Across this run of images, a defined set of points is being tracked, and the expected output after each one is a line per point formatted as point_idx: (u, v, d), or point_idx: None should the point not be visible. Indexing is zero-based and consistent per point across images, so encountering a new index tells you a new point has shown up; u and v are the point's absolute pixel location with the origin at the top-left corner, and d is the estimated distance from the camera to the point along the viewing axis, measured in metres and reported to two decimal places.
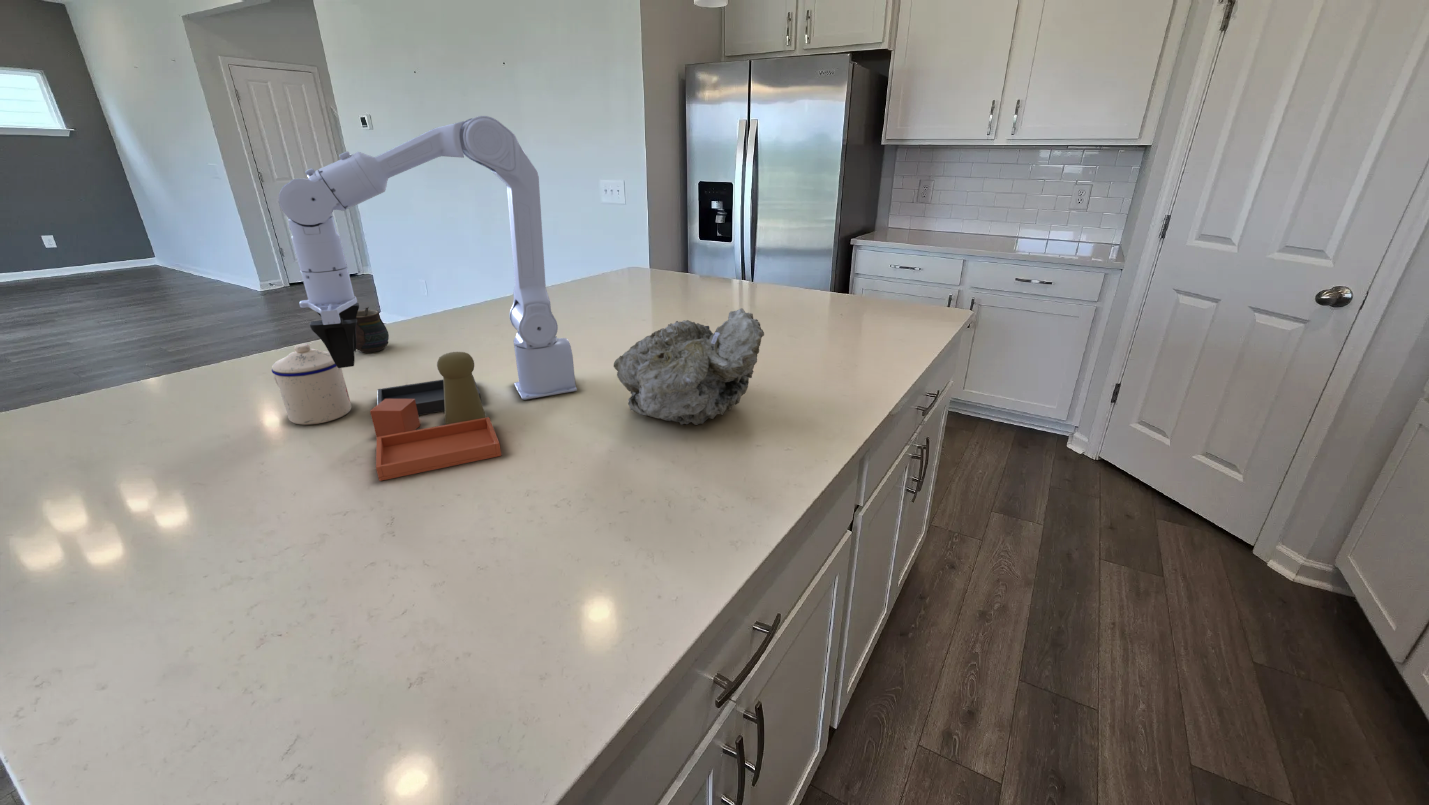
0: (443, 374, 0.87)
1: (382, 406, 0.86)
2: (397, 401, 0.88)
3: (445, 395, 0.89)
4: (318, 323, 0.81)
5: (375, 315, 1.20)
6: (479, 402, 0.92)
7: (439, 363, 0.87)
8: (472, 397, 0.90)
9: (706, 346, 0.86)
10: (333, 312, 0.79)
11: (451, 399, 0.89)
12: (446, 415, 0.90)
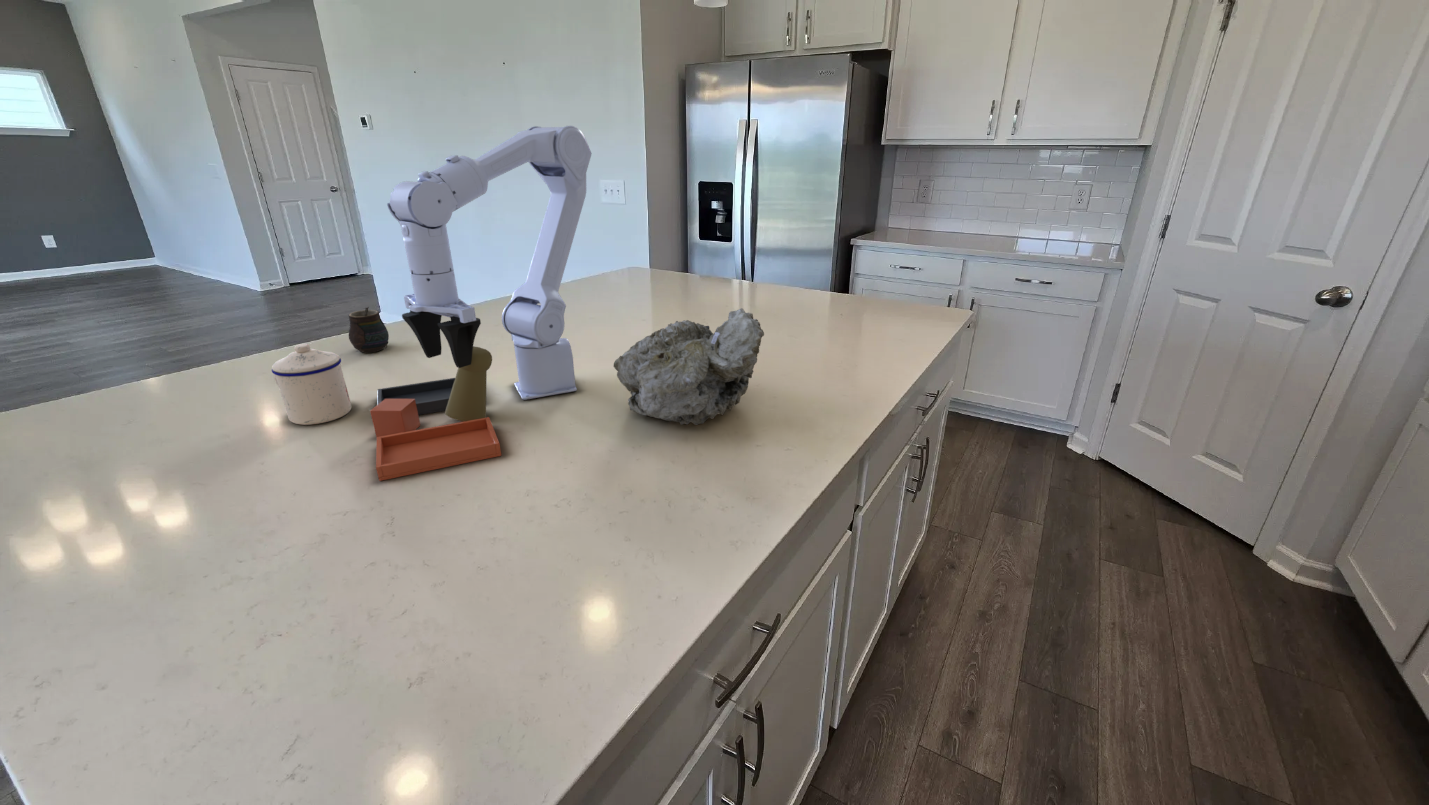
0: None
1: (382, 406, 0.86)
2: (397, 401, 0.88)
3: (455, 385, 0.90)
4: (450, 323, 0.82)
5: (375, 315, 1.20)
6: (485, 400, 0.92)
7: None
8: (480, 393, 0.91)
9: (706, 346, 0.86)
10: (472, 310, 0.82)
11: (460, 390, 0.89)
12: (449, 405, 0.90)
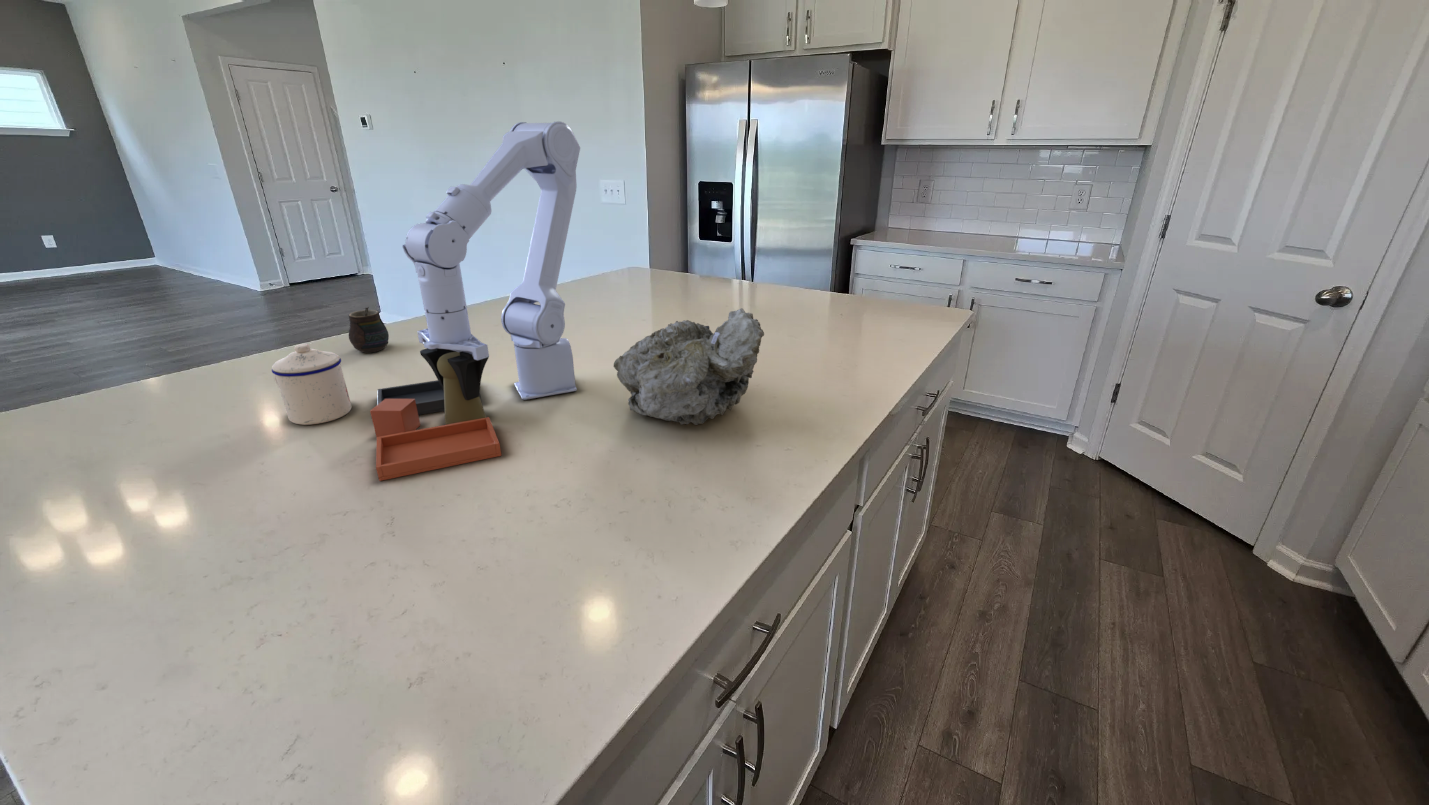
0: (443, 374, 0.87)
1: (382, 406, 0.86)
2: (397, 401, 0.88)
3: (445, 395, 0.89)
4: (459, 359, 0.85)
5: (375, 315, 1.20)
6: (479, 402, 0.92)
7: (439, 363, 0.87)
8: None
9: (706, 346, 0.86)
10: (485, 347, 0.84)
11: (451, 399, 0.89)
12: (446, 415, 0.90)
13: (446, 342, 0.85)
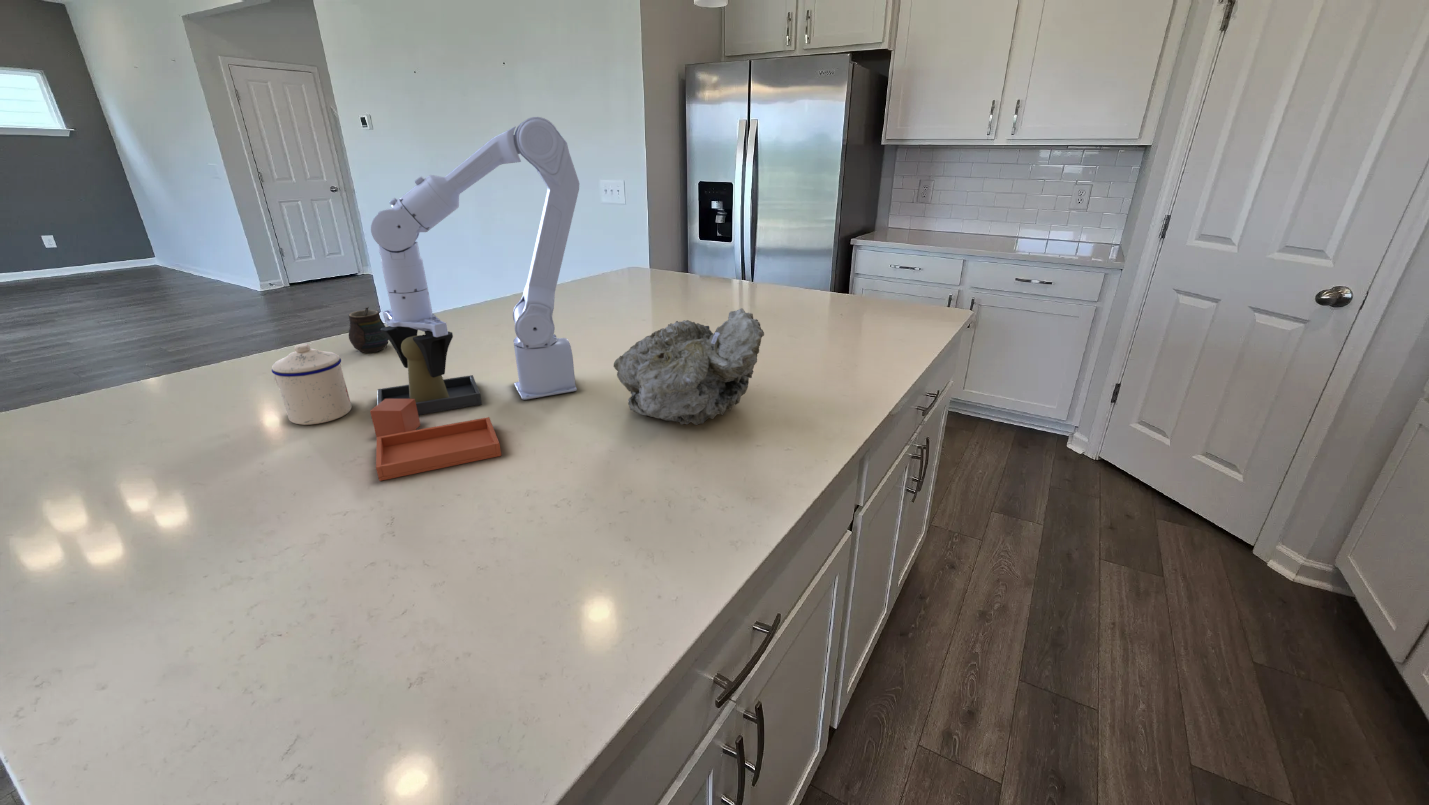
0: (406, 356, 0.93)
1: (382, 406, 0.86)
2: (397, 401, 0.88)
3: (409, 376, 0.95)
4: (424, 337, 0.90)
5: (375, 315, 1.20)
6: (442, 383, 0.98)
7: (403, 345, 0.93)
8: (435, 377, 0.96)
9: (706, 346, 0.86)
10: (444, 325, 0.90)
11: (415, 380, 0.95)
12: (410, 395, 0.96)
13: (407, 320, 0.90)
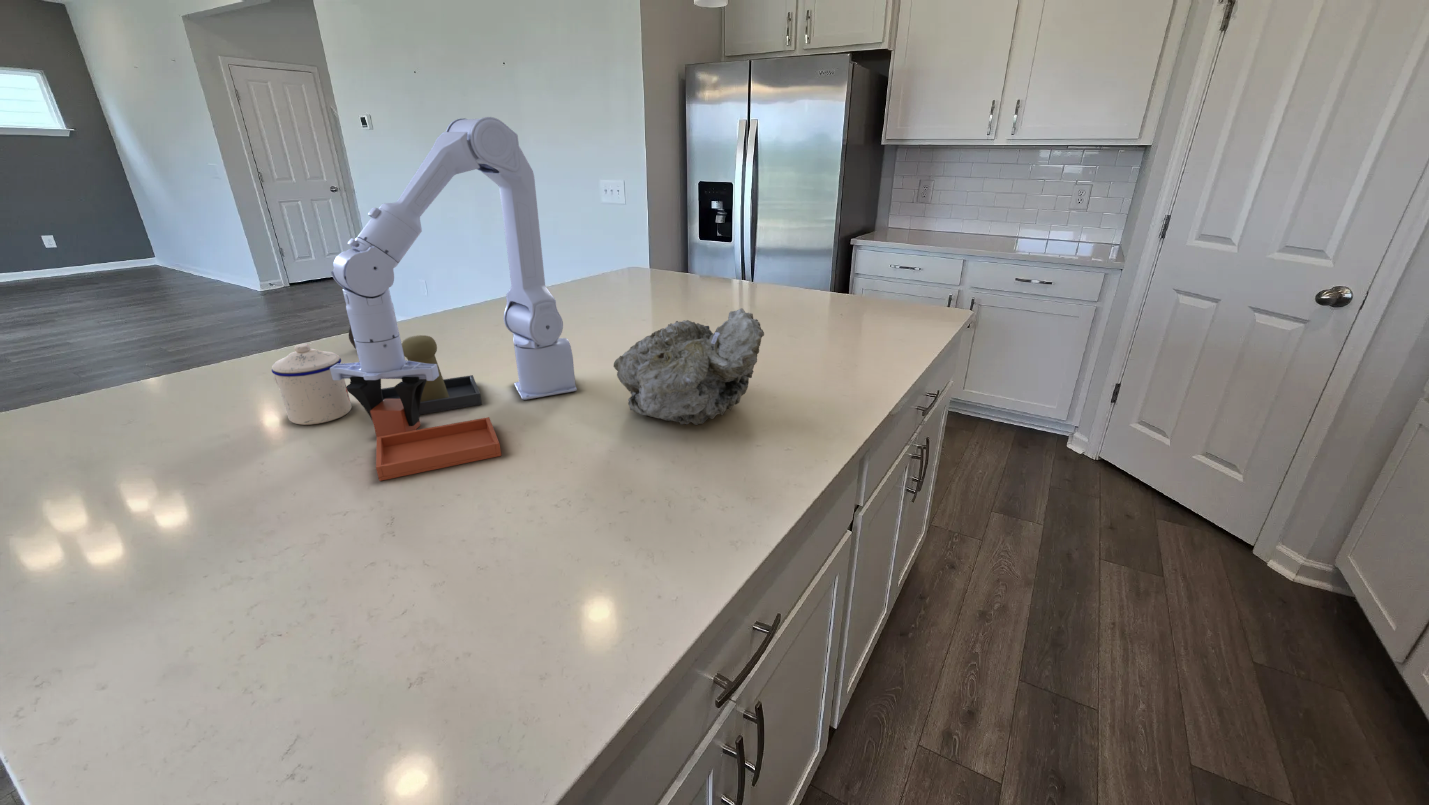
0: (406, 356, 0.93)
1: (383, 406, 0.86)
2: (397, 401, 0.88)
3: None
4: (408, 384, 0.84)
5: None
6: (442, 383, 0.98)
7: (403, 345, 0.93)
8: None
9: (706, 346, 0.86)
10: (436, 367, 0.85)
11: None
12: None
13: (390, 370, 0.83)
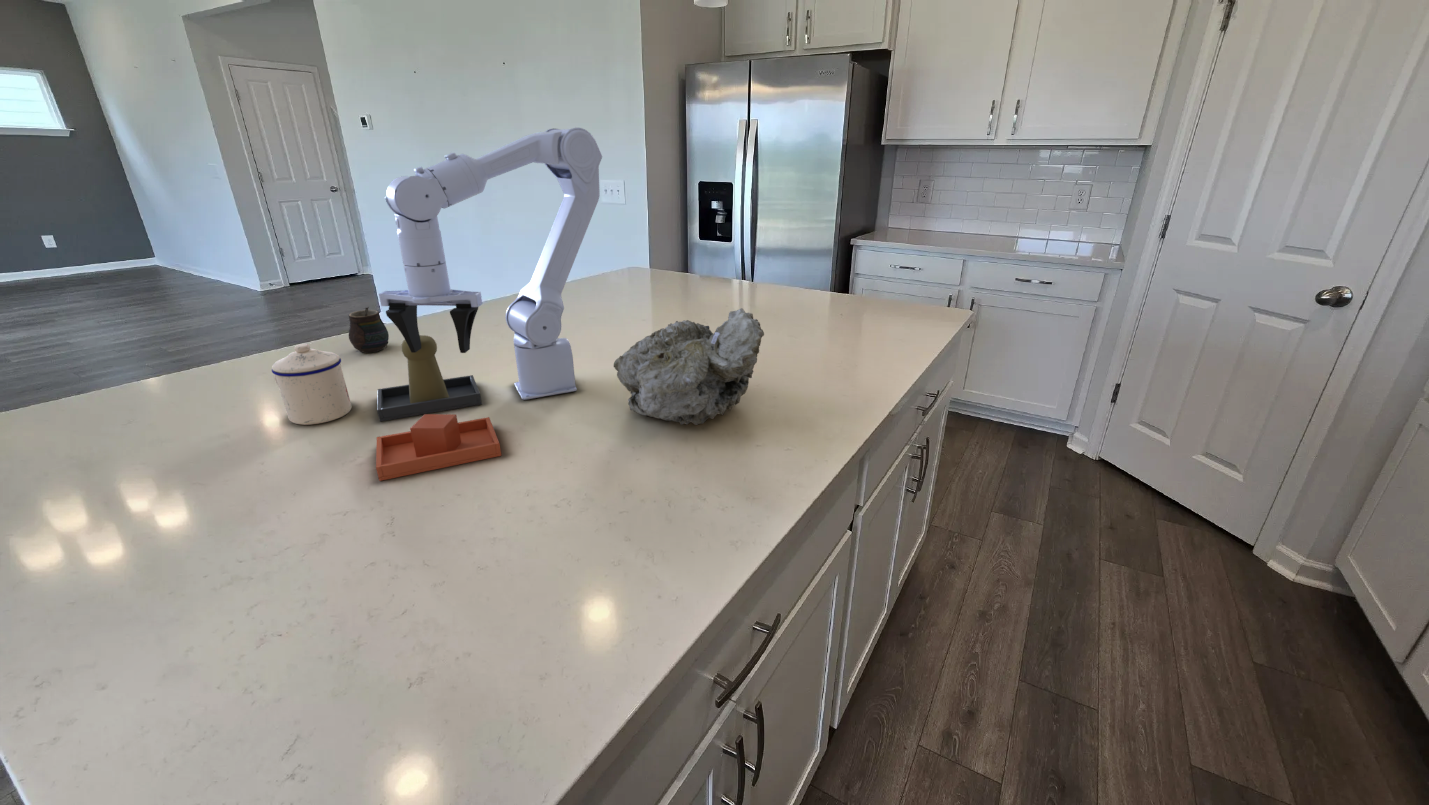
0: (407, 356, 0.93)
1: (423, 423, 0.80)
2: (438, 417, 0.82)
3: (409, 376, 0.95)
4: (462, 309, 0.87)
5: (375, 315, 1.20)
6: (442, 383, 0.98)
7: (403, 345, 0.93)
8: (435, 377, 0.96)
9: (706, 346, 0.86)
10: (480, 294, 0.89)
11: (415, 380, 0.95)
12: (410, 395, 0.96)
13: (437, 295, 0.86)
